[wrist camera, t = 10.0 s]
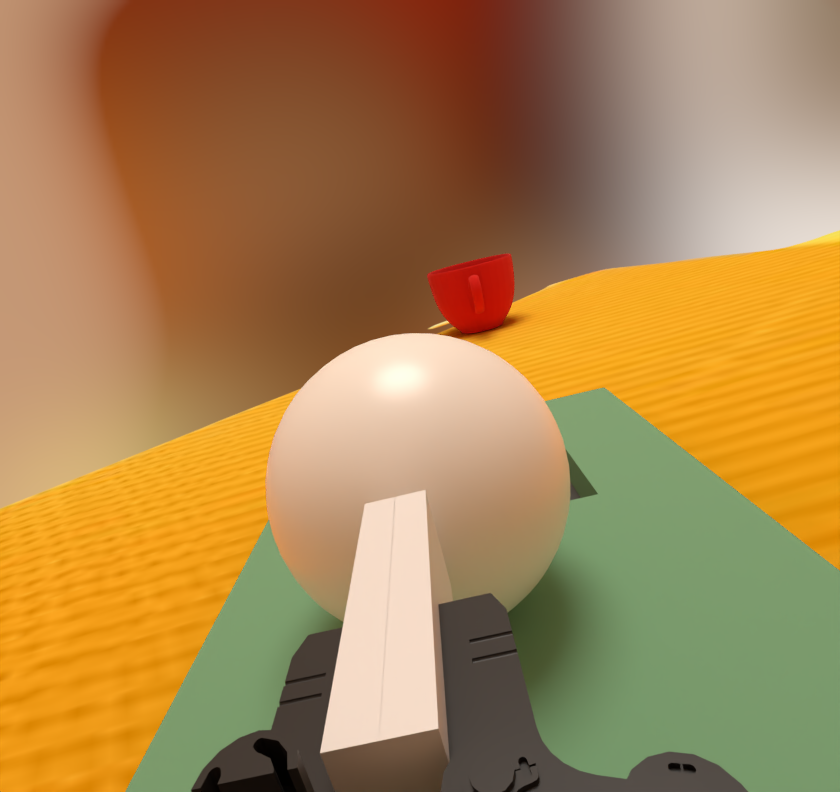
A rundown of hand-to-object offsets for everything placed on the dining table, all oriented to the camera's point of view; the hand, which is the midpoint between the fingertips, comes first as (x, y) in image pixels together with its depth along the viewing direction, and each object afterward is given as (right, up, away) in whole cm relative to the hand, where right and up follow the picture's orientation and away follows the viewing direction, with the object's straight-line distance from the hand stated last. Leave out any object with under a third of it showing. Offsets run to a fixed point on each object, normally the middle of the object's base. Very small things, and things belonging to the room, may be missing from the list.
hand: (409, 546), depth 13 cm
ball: (0, +1, +5) cm, 5 cm away
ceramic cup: (+10, +14, +70) cm, 72 cm away
